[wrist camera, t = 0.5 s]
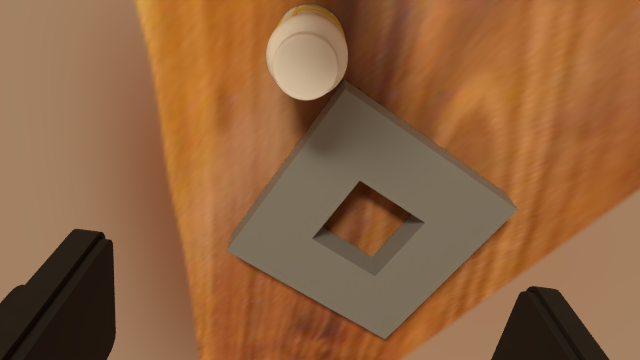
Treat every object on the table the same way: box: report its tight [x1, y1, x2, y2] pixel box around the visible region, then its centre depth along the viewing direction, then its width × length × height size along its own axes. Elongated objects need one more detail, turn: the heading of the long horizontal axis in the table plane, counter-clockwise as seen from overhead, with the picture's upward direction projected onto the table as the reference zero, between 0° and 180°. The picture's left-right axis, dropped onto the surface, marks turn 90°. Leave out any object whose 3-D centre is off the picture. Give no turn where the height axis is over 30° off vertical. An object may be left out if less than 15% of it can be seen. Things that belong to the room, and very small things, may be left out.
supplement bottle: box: [266, 4, 348, 100], centre depth 33 cm, size 5×5×10 cm
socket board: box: [227, 79, 518, 339], centre depth 43 cm, size 18×18×3 cm
